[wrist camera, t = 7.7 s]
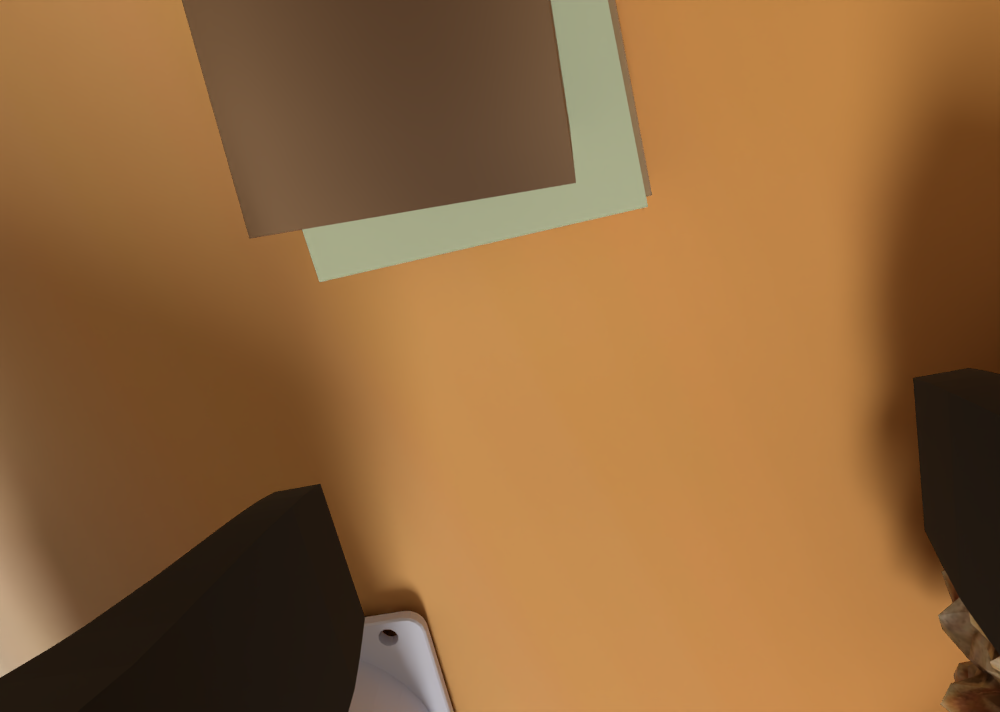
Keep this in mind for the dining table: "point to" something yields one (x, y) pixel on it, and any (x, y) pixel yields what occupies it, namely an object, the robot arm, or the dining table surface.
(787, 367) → the dining table surface
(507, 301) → the dining table surface
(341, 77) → the walnut block
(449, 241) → the slab top
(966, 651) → the pine cone
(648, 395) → the dining table surface
